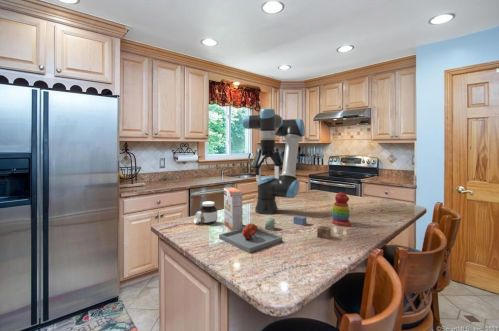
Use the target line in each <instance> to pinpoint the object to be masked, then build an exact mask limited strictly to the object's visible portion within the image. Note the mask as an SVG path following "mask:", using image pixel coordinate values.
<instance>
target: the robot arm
mask: <svg viewBox="0 0 499 331" xmlns="http://www.w3.org/2000/svg"><path fill="white" fill-rule="evenodd" d="M259 112H260V113H259V114H257V115H256V114H255V115H253V114H252V115H244V116H243V117H242V122H241V123H242V127H243V129H245V130H257V131H259V132H260V135H259V136H260V147H261V148H257V149H256V153H255V155H254V158H253V161H252V165H251V168H253V169H254V170H255V171H254V174H255V181H256V182H257V202H256V205H255V208H254V211H255V213H257V214H261V215H273V214H276V213H278V212H279V208H278V205H277V201H276V198H286V199H294V198H295V197H297V195H298V193H299V190H300V182H299V180H298V177H297V176H296V170H297V169H296V168H297V159H298V152H299V145H300V144H299V143H300V141H301V140H302V138H303V137H304V136H305V135H306V128H305V127H306V126H305V123H304V120H302V118H295V119H293V118H291V119H290V118H289V119H283V118H282V116H281V115H279V114H276V111H275V109H274V108H262V109H260V110H259ZM276 137H283V138H284V140H285V147H284V154H283V155H284V156H283V161H282V158H281V155H280V152H279V148H278V147H276V140H275V138H276ZM266 158H270V159H271V161H272V162H273V163H274V176H262V177H261V174H262V173H261V172H262V171H261V170H262V169H261V168H260V167H261V166H262V164H263V163H264V161H265V159H266ZM281 167H282V170H280V169H281ZM280 171H281V174H280Z"/></svg>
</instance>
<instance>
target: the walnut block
mask: <svg viewBox="0 0 499 331" xmlns="http://www.w3.org/2000/svg"><path fill="white" fill-rule="evenodd" d="M316 230H317V232H316V233H317V235H316V237H317V238H319V239H324V240H329V239H330V238H331V236H332V228H331V227H330V226H324V225H320V226H319V227H317V229H316Z"/></svg>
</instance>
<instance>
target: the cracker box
mask: <svg viewBox="0 0 499 331" xmlns="http://www.w3.org/2000/svg"><path fill="white" fill-rule="evenodd" d="M223 207H224V208H223V214H224V215H223V219H224V221H223V222H224V225H225V226H226V228H228V229H229V230H230V231H234V230H238V229H242V228H244V226H242V225H244V224H243V191H242V190H240V189H238V188H235V187H234V186H232V187H224V188H223Z"/></svg>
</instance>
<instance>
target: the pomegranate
mask: <svg viewBox="0 0 499 331" xmlns="http://www.w3.org/2000/svg"><path fill="white" fill-rule="evenodd" d="M242 226H243V228H244V229H243V231H242V234H243V236H244V237H245V238H246V239H250V238H251V237H252V236H253V235H254V234H255V232H256V231H257V230H258V229H259V228H258V226H257V225H256V224H254V223H248V224H246V225H245V224H243V225H242ZM254 236H255V235H254ZM255 237H256V236H255ZM256 238H257V237H256ZM257 239H258V238H257ZM258 240H259V239H258Z"/></svg>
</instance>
